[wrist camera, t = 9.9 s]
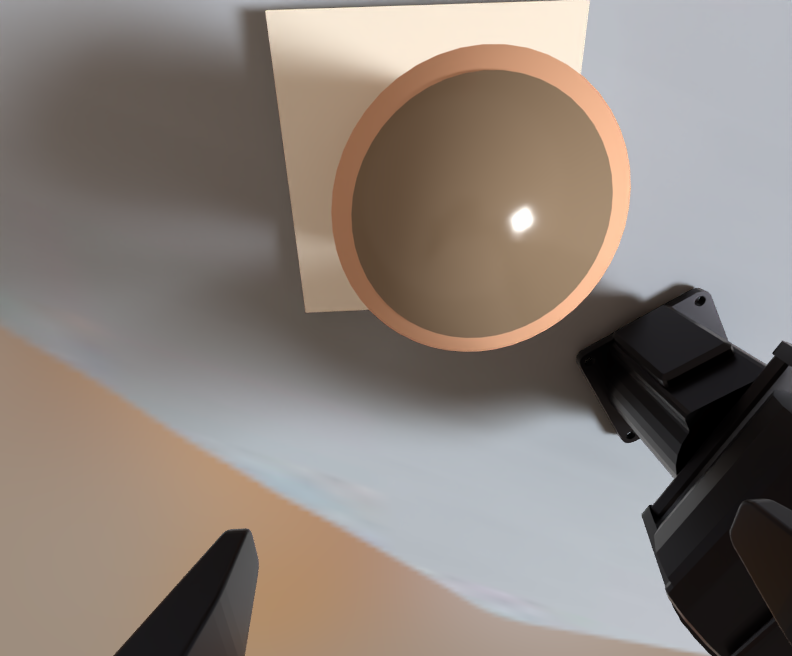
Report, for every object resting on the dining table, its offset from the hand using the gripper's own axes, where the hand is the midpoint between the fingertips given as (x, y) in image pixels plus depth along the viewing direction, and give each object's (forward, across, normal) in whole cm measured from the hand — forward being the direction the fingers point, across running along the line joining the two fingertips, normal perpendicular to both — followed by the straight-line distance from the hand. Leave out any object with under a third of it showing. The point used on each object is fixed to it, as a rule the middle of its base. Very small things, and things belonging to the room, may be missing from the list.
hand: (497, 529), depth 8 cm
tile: (+13, 0, -5) cm, 14 cm away
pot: (+12, 0, -5) cm, 13 cm away
